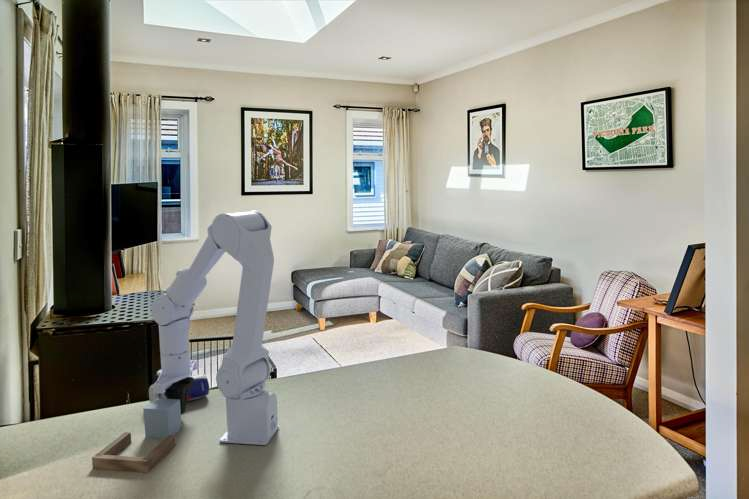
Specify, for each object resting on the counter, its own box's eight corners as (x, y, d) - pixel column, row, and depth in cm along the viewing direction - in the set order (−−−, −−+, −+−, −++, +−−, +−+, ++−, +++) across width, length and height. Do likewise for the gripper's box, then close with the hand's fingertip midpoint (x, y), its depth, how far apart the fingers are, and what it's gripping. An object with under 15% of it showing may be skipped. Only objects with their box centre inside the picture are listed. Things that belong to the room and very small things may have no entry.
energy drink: (157, 401, 119) (211, 387, 127) (150, 380, 122) (203, 368, 129) (153, 414, 123) (206, 400, 130) (147, 394, 125) (199, 381, 133)
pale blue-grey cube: (182, 426, 114) (181, 398, 113) (169, 439, 109) (167, 409, 108) (160, 425, 115) (158, 397, 114) (145, 437, 110) (143, 408, 109)
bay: (175, 445, 106) (175, 435, 106) (147, 472, 96) (146, 461, 96) (125, 441, 108) (124, 432, 107) (92, 468, 98) (91, 457, 98)
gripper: (174, 340, 123) (178, 398, 125) (137, 361, 109) (142, 427, 111) (204, 341, 122) (207, 400, 124) (170, 363, 108) (174, 429, 110)
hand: (178, 413), depth 118 cm, fingers closed
